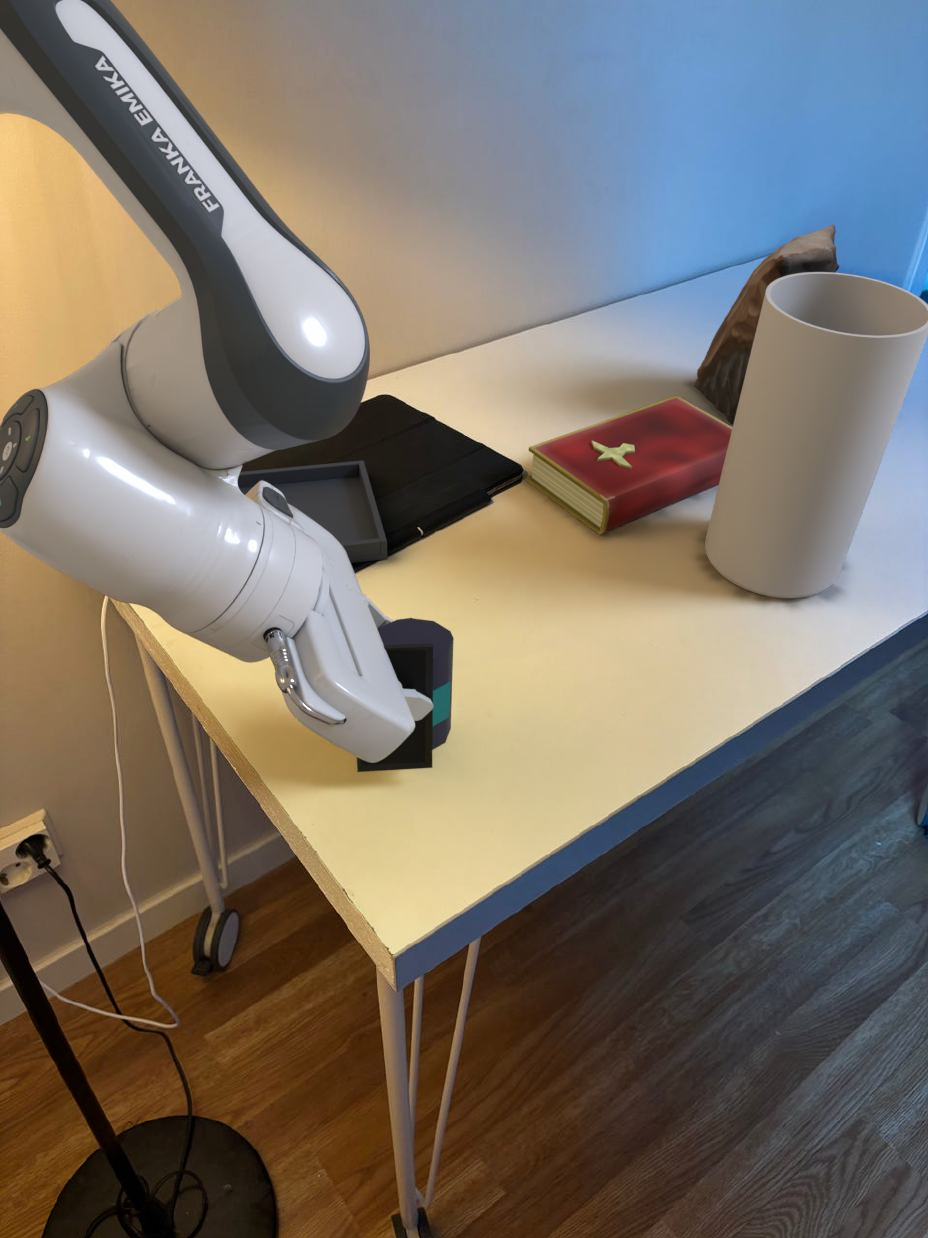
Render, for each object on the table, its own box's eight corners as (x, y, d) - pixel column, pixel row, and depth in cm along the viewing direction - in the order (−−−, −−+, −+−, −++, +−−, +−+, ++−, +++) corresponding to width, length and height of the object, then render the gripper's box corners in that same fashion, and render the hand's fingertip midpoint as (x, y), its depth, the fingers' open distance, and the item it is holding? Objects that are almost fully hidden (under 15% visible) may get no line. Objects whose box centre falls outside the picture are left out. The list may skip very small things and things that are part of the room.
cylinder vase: (867, 585, 87) (970, 325, 71) (752, 615, 84) (833, 347, 67) (785, 512, 96) (860, 264, 80) (678, 535, 92) (734, 281, 76)
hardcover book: (750, 474, 101) (759, 439, 99) (602, 537, 92) (608, 500, 89) (670, 426, 109) (677, 392, 106) (525, 480, 99) (529, 444, 96)
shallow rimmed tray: (196, 581, 85) (193, 562, 84) (193, 494, 95) (190, 476, 94) (387, 559, 88) (387, 540, 87) (364, 477, 99) (363, 460, 97)
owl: (792, 383, 118) (839, 216, 105) (825, 434, 108) (881, 258, 95) (691, 381, 117) (726, 213, 104) (716, 433, 108) (757, 256, 95)
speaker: (434, 787, 66) (433, 667, 60) (355, 772, 67) (347, 653, 61) (461, 718, 72) (463, 603, 66) (388, 706, 73) (384, 591, 67)
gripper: (325, 664, 50) (490, 749, 59) (259, 466, 64) (400, 558, 73) (248, 740, 52) (421, 812, 60) (202, 530, 66) (346, 613, 75)
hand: (409, 671), depth 67 cm, fingers closed on speaker, 6 cm apart
